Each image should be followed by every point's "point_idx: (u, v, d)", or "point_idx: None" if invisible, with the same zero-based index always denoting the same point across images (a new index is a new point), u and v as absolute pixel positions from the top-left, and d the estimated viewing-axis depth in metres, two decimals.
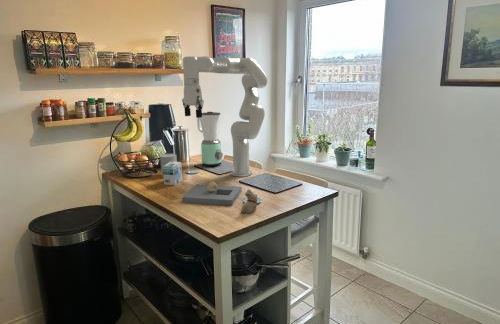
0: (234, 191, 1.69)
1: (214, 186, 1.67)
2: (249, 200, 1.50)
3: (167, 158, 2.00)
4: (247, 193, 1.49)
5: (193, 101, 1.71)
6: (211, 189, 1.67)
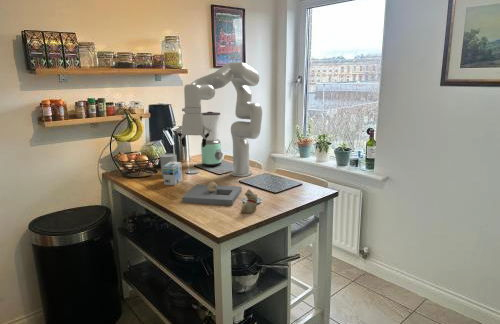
0: (234, 191, 1.69)
1: (214, 186, 1.67)
2: (249, 200, 1.50)
3: (167, 158, 2.00)
4: (247, 193, 1.49)
5: None
6: (211, 189, 1.67)
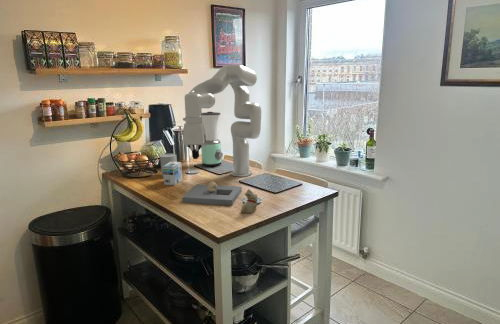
0: (234, 191, 1.69)
1: (214, 186, 1.67)
2: (249, 200, 1.50)
3: (167, 158, 2.00)
4: (247, 193, 1.49)
5: None
6: (211, 189, 1.67)
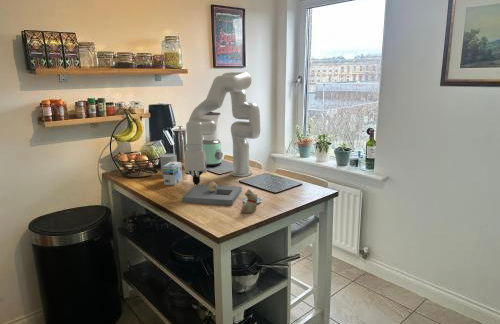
0: (234, 191, 1.69)
1: (214, 186, 1.67)
2: (249, 200, 1.50)
3: (167, 158, 2.00)
4: (247, 193, 1.49)
5: None
6: (211, 189, 1.67)
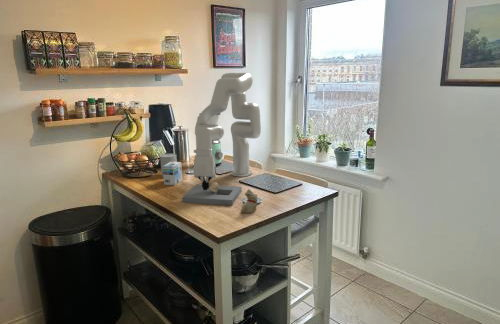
0: (234, 191, 1.69)
1: (217, 187, 1.67)
2: (249, 200, 1.50)
3: (167, 158, 2.00)
4: (247, 193, 1.49)
5: None
6: (213, 190, 1.67)
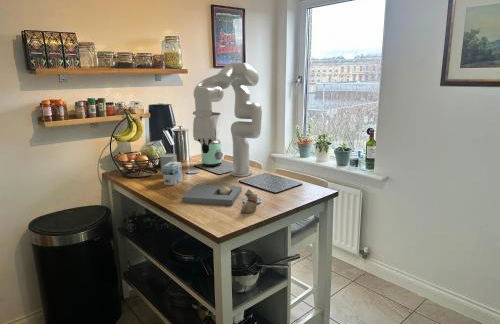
0: (234, 191, 1.69)
1: (222, 194, 1.69)
2: (249, 200, 1.50)
3: (167, 158, 2.00)
4: (247, 193, 1.49)
5: None
6: (223, 191, 1.68)
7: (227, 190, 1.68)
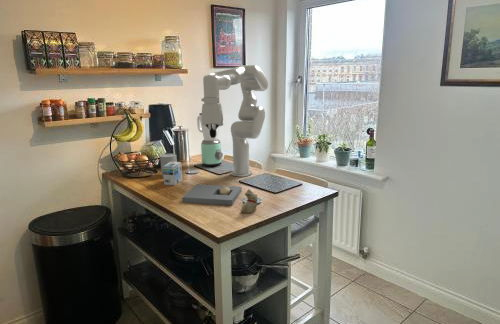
0: (234, 191, 1.69)
1: (222, 194, 1.69)
2: (249, 200, 1.50)
3: (167, 158, 2.00)
4: (247, 193, 1.49)
5: None
6: (223, 192, 1.67)
7: (227, 190, 1.68)
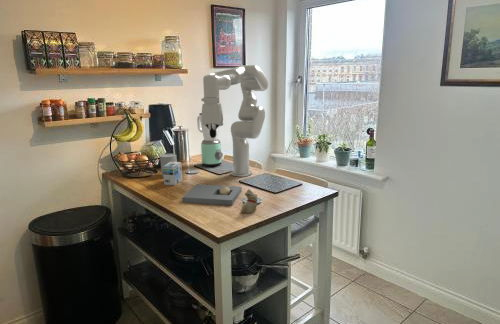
0: (234, 191, 1.69)
1: None
2: (249, 200, 1.50)
3: (167, 158, 2.00)
4: (247, 193, 1.49)
5: None
6: (223, 192, 1.67)
7: (227, 191, 1.68)
